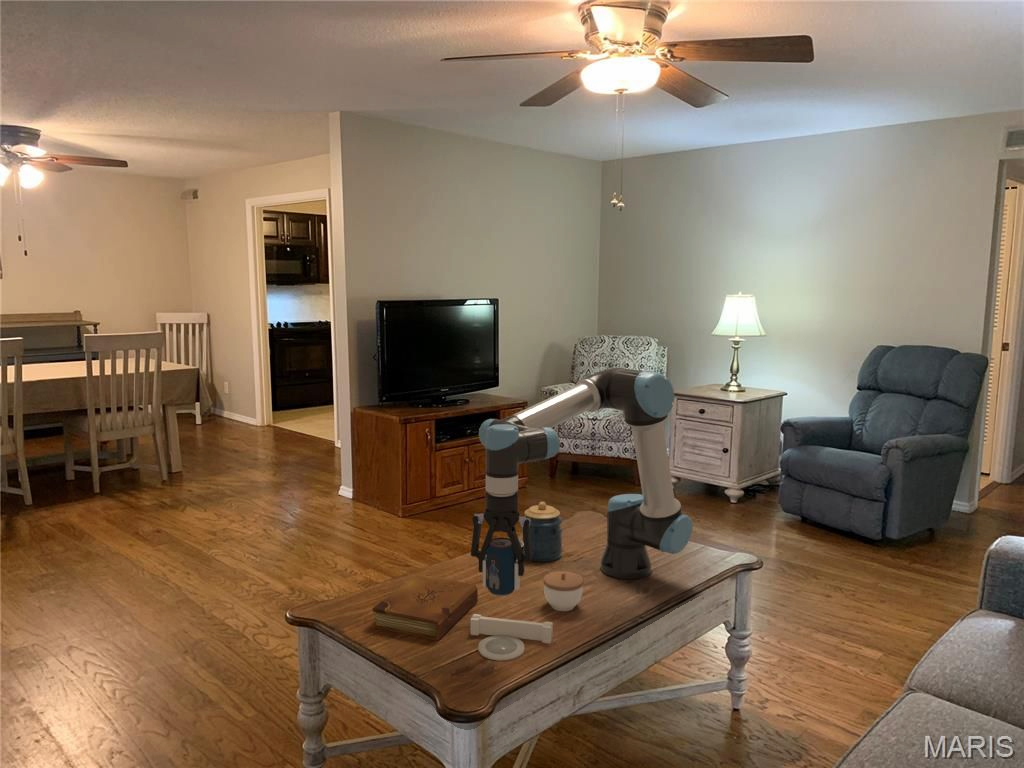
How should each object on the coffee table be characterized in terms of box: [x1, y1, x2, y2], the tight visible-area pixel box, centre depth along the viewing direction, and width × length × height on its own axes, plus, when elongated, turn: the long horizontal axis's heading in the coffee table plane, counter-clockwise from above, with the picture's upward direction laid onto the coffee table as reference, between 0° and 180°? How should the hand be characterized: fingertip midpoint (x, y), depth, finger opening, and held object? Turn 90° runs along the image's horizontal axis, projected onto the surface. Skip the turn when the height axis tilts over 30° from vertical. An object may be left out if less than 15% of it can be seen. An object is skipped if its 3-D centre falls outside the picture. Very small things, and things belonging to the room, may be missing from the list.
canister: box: [521, 501, 564, 563], centre depth 229 cm, size 13×13×18 cm
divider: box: [470, 613, 554, 645], centre depth 176 cm, size 20×3×4 cm, turn 78°
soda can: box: [486, 537, 516, 597], centre depth 168 cm, size 7×7×12 cm
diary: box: [372, 574, 479, 642], centre depth 188 cm, size 23×19×6 cm
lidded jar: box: [543, 570, 584, 612], centre depth 193 cm, size 11×11×9 cm
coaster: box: [477, 635, 525, 662], centre depth 171 cm, size 11×11×1 cm
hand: (501, 586), depth 169 cm, fingers closed on soda can, 7 cm apart
